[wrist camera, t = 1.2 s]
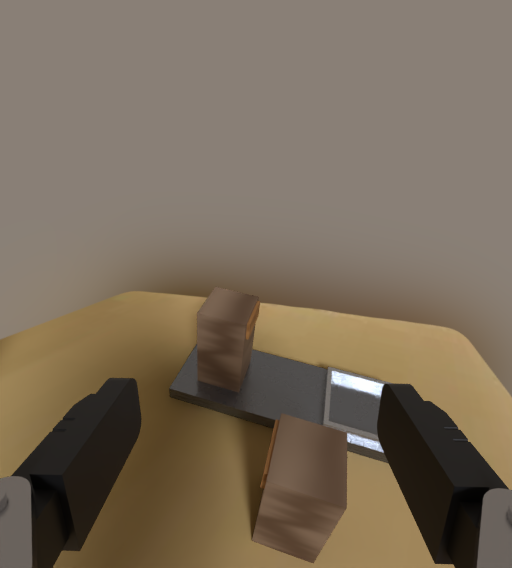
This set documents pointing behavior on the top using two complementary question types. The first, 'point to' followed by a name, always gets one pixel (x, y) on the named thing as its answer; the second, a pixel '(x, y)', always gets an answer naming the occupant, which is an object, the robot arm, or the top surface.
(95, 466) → the robot arm
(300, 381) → the rail
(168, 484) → the top surface
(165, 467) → the top surface
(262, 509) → the walnut finger
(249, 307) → the block
